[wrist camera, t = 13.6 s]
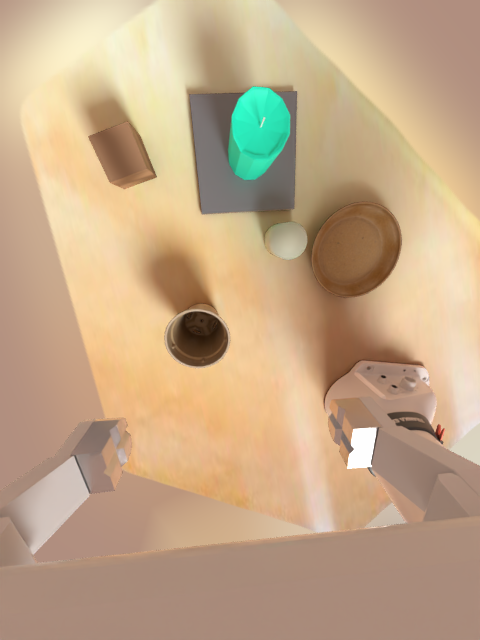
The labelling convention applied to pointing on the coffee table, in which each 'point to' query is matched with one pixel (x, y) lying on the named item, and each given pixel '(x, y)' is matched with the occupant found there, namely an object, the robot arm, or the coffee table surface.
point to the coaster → (217, 175)
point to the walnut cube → (123, 155)
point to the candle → (257, 132)
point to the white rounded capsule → (286, 240)
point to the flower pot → (197, 337)
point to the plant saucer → (356, 249)
